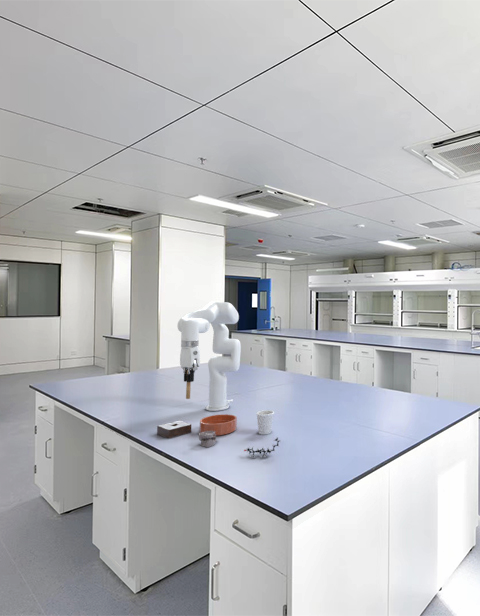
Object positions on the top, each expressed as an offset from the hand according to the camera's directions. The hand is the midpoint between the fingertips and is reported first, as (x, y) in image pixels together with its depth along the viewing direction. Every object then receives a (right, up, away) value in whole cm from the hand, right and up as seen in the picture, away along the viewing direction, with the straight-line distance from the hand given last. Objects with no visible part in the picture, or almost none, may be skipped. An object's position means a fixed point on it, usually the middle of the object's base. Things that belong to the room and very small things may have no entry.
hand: (188, 381), depth 184 cm
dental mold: (+17, -26, -15) cm, 34 cm away
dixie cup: (+37, -26, +3) cm, 45 cm away
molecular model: (+46, -27, -26) cm, 59 cm away
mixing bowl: (+13, -26, +3) cm, 29 cm away
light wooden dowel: (0, -9, 0) cm, 9 cm away
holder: (-6, -25, -2) cm, 26 cm away
